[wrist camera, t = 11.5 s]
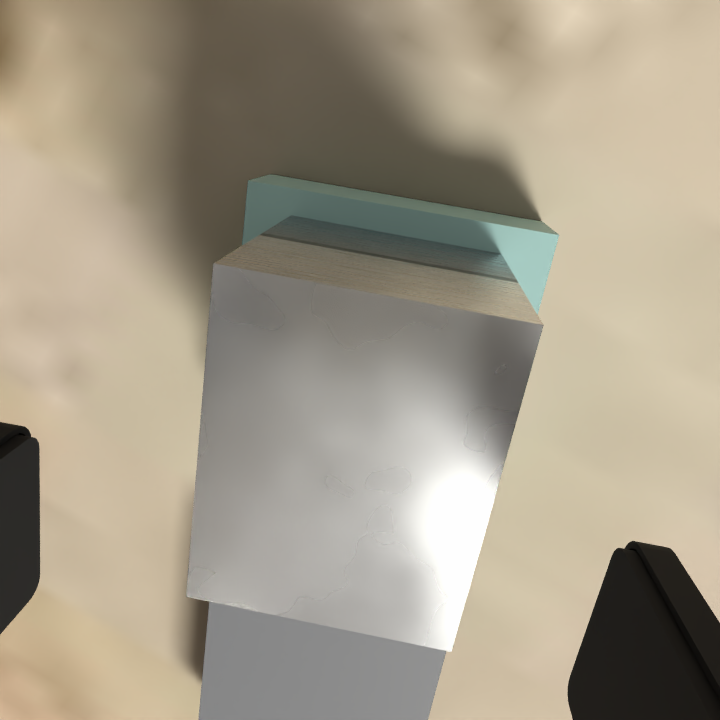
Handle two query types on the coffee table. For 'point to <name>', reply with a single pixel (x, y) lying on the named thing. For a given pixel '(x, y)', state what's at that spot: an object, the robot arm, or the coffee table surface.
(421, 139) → the coffee table surface
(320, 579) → the block
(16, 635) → the coffee table surface
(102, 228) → the coffee table surface
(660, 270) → the coffee table surface
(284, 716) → the stand
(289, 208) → the stand
